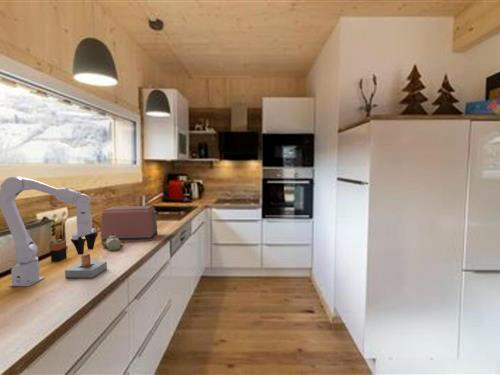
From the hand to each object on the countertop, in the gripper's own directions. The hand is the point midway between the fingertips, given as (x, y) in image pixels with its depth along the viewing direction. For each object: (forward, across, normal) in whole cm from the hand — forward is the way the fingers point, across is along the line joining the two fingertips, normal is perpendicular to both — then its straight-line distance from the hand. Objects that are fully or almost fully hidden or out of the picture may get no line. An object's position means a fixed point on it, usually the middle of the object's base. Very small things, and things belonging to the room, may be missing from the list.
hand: (85, 251), depth 140 cm
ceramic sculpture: (+10, +41, +9) cm, 44 cm away
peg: (+9, 0, 0) cm, 9 cm away
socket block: (+10, 0, 0) cm, 10 cm away
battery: (+10, +20, +27) cm, 35 cm away
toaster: (+10, +65, +8) cm, 66 cm away
